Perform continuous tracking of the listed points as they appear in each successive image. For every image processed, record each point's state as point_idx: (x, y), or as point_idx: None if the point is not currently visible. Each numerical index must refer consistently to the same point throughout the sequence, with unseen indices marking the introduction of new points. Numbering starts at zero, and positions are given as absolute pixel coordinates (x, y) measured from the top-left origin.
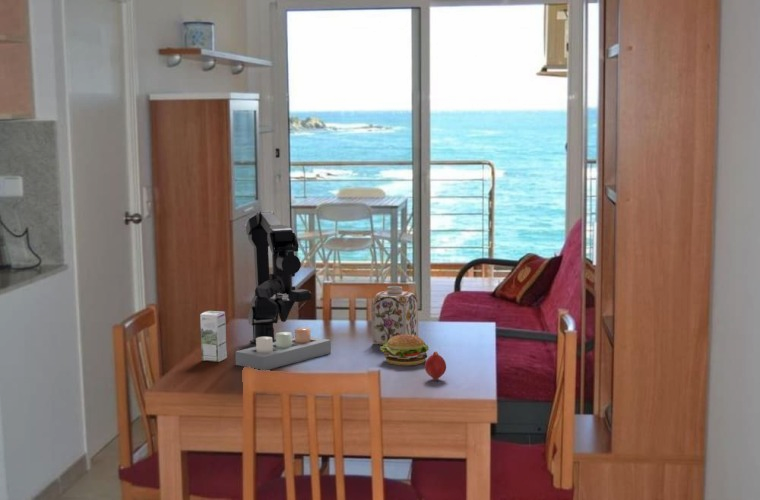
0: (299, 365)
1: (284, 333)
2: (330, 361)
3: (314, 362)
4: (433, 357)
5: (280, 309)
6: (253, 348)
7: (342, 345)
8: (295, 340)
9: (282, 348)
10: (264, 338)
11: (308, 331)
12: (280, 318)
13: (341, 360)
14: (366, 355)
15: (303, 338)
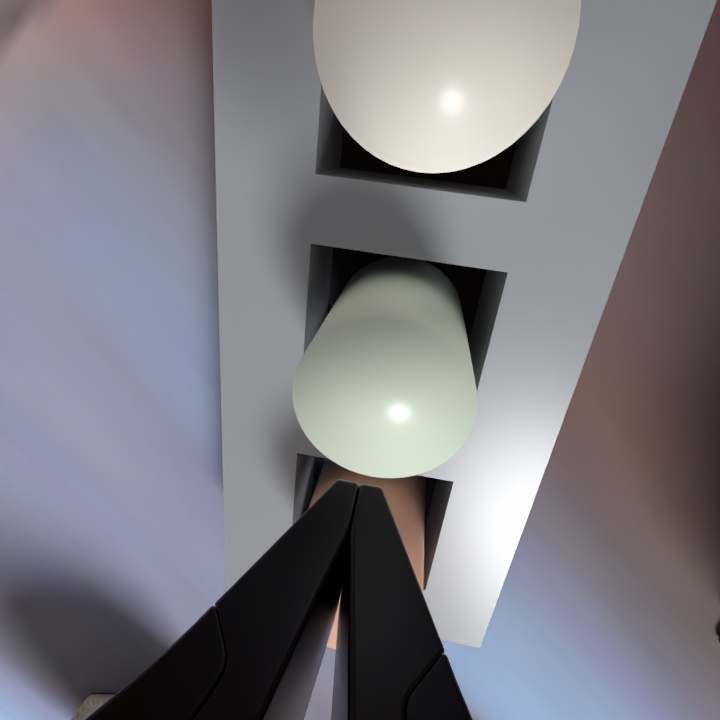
0: (175, 196)
1: (380, 413)
2: (111, 381)
3: (162, 318)
4: None
5: (345, 699)
6: (627, 77)
7: None
8: (397, 497)
9: (360, 280)
10: (431, 27)
11: None
12: (388, 518)
13: (86, 424)
14: (83, 546)
15: None
